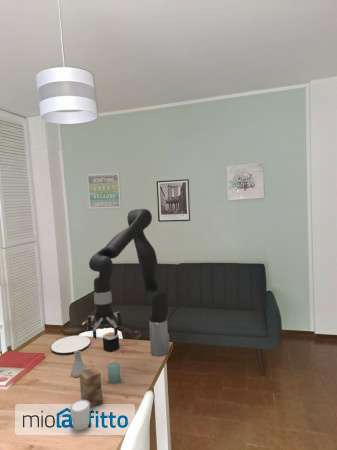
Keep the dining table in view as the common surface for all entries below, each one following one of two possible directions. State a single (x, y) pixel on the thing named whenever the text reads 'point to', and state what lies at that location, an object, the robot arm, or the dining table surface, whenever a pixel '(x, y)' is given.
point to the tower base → (92, 397)
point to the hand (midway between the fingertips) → (105, 336)
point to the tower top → (90, 380)
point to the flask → (78, 365)
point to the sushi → (110, 342)
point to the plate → (70, 344)
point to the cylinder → (114, 373)
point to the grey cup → (80, 414)
